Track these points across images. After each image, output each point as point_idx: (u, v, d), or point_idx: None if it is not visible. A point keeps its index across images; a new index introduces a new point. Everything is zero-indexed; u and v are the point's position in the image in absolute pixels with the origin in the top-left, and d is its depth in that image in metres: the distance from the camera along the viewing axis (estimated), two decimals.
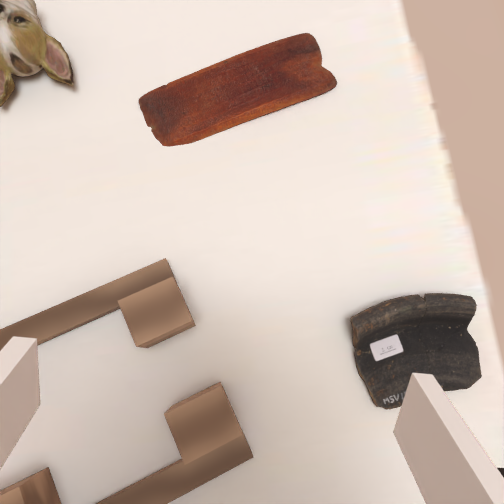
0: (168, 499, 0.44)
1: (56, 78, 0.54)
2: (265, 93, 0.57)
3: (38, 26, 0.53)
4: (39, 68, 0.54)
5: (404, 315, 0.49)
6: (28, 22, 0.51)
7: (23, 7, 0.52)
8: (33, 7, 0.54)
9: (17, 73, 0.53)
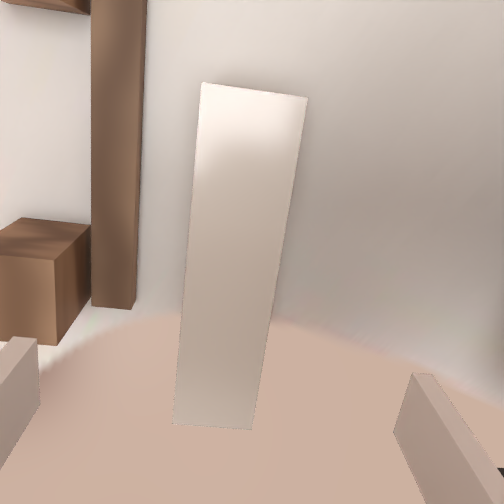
0: (134, 83, 0.27)
1: None
2: None
3: None
4: None
5: None
6: None
7: None
8: None
9: None
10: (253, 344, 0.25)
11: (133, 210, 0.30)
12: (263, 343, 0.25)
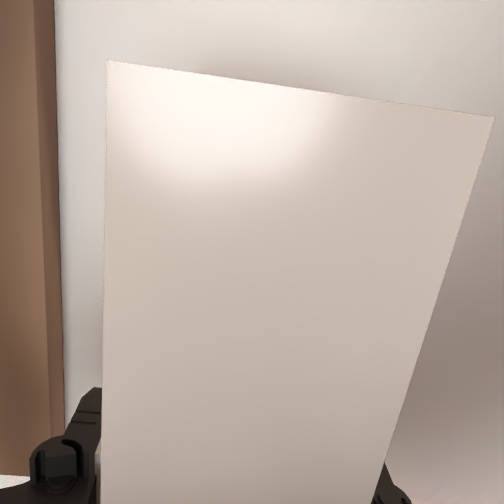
0: (26, 75, 0.13)
1: None
2: None
3: None
4: None
5: None
6: None
7: None
8: None
9: None
10: None
11: (43, 318, 0.16)
12: None
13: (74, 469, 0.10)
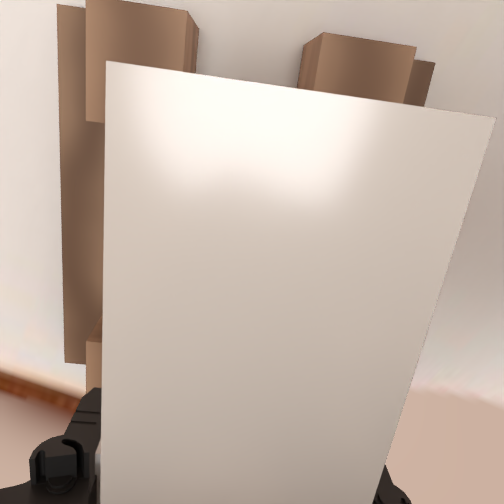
0: None
1: None
2: None
3: None
4: None
5: None
6: None
7: None
8: None
9: None
10: None
11: None
12: None
13: (74, 469, 0.10)
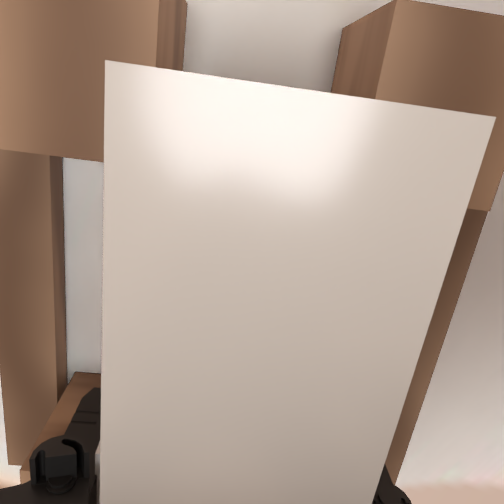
0: (466, 258, 0.22)
1: None
2: None
3: None
4: None
5: None
6: None
7: None
8: None
9: None
10: None
11: (424, 391, 0.25)
12: None
13: (74, 469, 0.10)
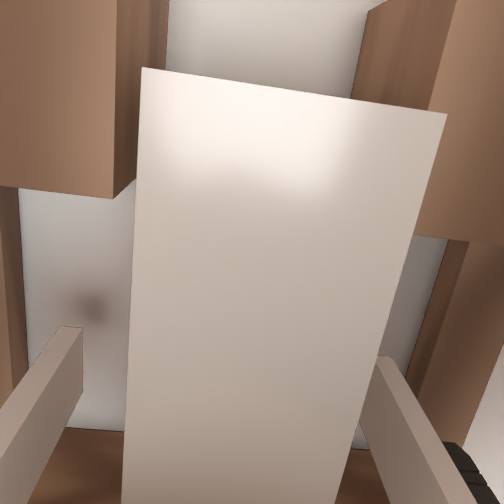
0: None
1: None
2: None
3: None
4: None
5: None
6: None
7: None
8: None
9: None
10: None
11: None
12: None
13: None
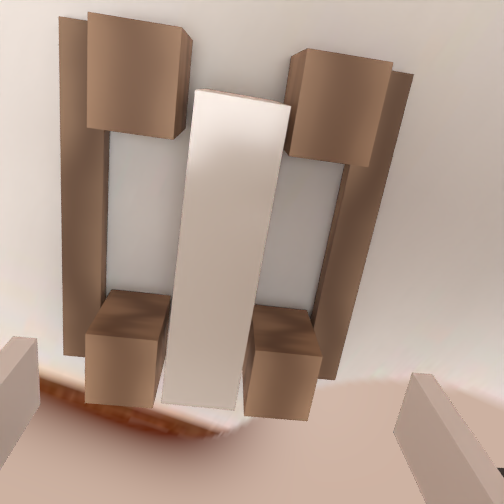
0: (375, 206, 0.33)
1: None
2: None
3: None
4: None
5: None
6: None
7: None
8: None
9: None
10: (238, 330, 0.27)
11: (353, 302, 0.36)
12: (247, 329, 0.27)
13: None
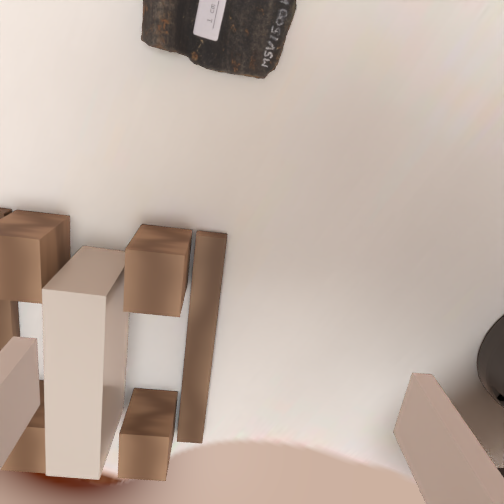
0: (213, 324, 0.45)
1: None
2: None
3: None
4: None
5: None
6: None
7: None
8: None
9: None
10: (93, 428, 0.39)
11: (207, 388, 0.48)
12: (99, 427, 0.39)
13: None
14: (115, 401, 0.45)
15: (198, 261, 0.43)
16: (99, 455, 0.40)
